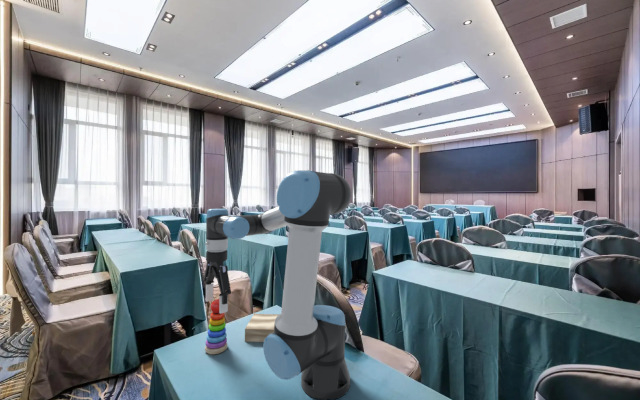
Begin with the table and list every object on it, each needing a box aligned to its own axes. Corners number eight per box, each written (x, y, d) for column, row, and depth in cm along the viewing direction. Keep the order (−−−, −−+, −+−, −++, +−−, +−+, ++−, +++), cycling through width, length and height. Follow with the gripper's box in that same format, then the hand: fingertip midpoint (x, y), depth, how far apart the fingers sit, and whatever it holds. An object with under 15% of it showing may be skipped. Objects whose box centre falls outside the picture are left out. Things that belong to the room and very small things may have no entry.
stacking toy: (212, 358, 98) (212, 305, 97) (200, 350, 103) (200, 300, 102) (231, 348, 104) (232, 299, 104) (219, 341, 109) (219, 294, 109)
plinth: (279, 342, 109) (280, 329, 109) (244, 341, 109) (244, 328, 109) (285, 325, 123) (285, 314, 123) (253, 324, 123) (254, 313, 123)
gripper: (195, 245, 110) (194, 298, 110) (220, 257, 91) (219, 321, 91) (214, 243, 115) (213, 294, 115) (241, 254, 96) (240, 314, 96)
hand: (216, 306), depth 103 cm, fingers open, 13 cm apart
